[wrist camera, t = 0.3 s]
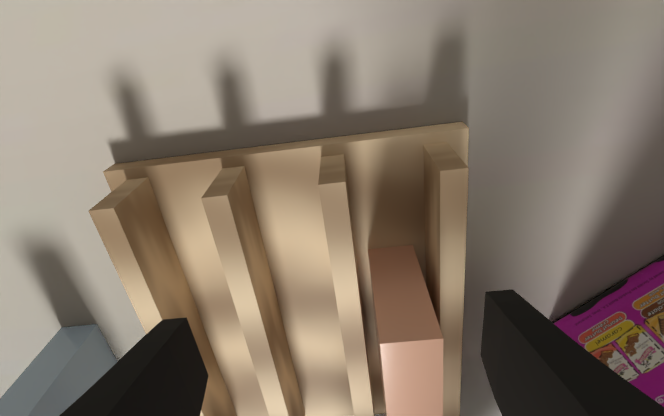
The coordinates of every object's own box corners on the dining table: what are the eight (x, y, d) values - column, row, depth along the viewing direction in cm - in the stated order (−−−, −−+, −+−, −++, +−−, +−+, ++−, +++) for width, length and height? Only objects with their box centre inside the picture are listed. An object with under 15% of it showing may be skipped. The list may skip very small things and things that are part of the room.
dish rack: (454, 393, 25) (474, 457, 22) (215, 411, 26) (196, 474, 23) (461, 121, 17) (495, 151, 13) (114, 163, 18) (60, 201, 14)
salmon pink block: (416, 348, 22) (442, 457, 17) (377, 351, 22) (391, 460, 17) (412, 244, 19) (443, 338, 13) (367, 249, 19) (379, 343, 14)
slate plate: (139, 401, 26) (88, 503, 21) (108, 403, 26) (49, 505, 21) (97, 323, 23) (24, 419, 17) (62, 326, 23) (-22, 423, 18)
